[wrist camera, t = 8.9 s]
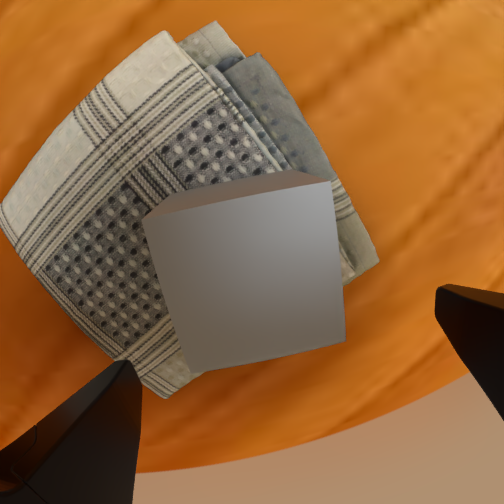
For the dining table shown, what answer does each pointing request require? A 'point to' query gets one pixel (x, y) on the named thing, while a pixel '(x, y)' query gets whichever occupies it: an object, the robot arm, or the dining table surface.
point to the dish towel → (157, 186)
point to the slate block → (249, 268)
